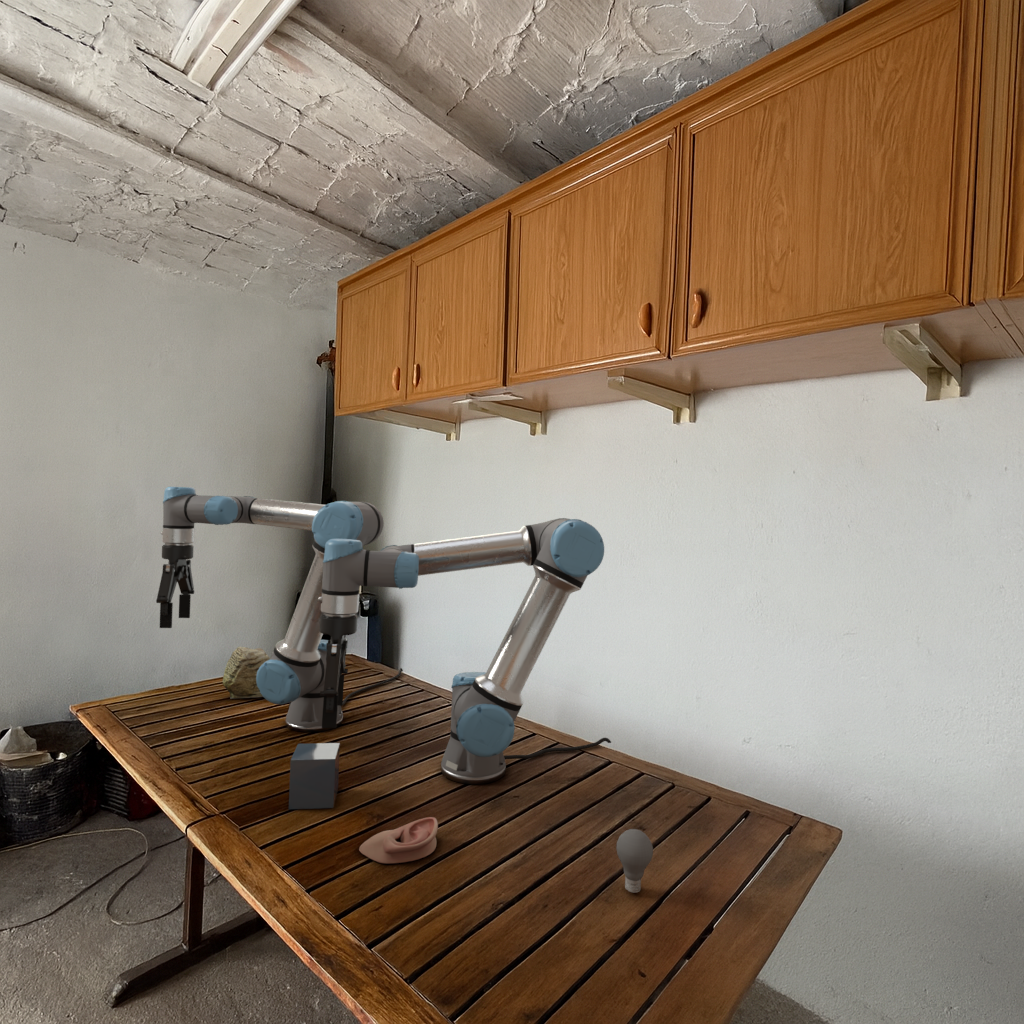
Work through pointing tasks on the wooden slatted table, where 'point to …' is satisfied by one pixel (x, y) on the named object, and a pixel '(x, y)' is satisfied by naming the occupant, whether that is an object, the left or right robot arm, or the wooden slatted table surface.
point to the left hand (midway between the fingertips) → (175, 622)
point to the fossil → (244, 672)
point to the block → (314, 776)
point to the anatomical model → (403, 842)
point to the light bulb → (634, 857)
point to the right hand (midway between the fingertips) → (332, 715)
